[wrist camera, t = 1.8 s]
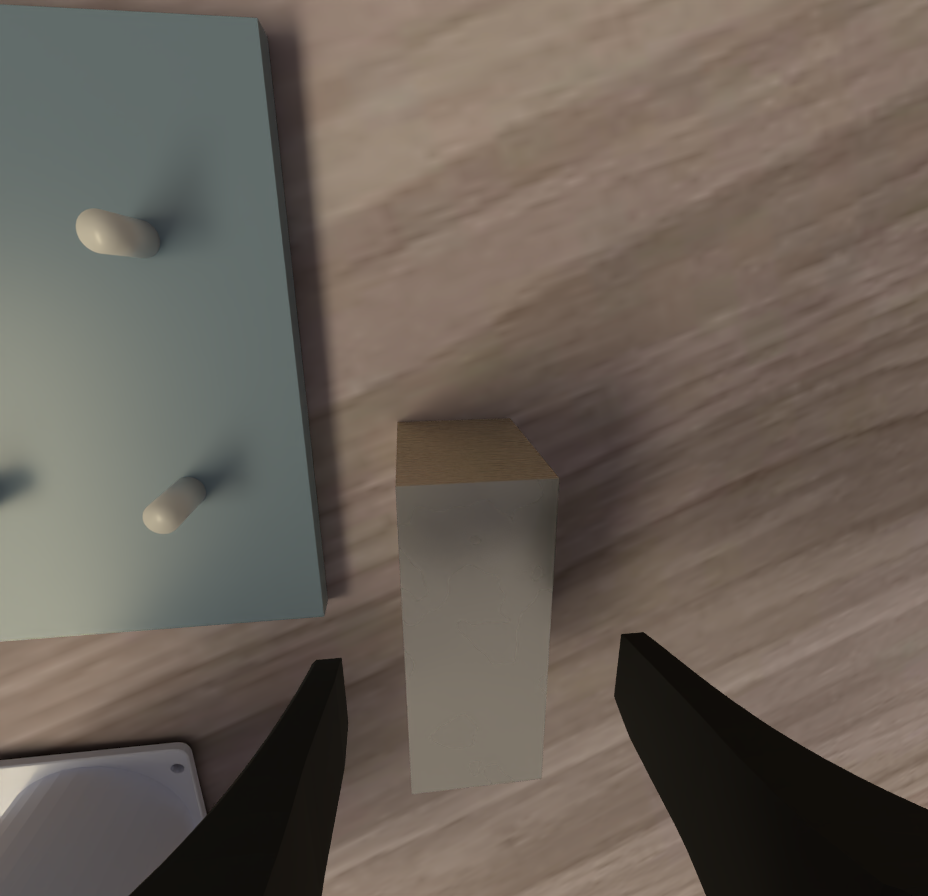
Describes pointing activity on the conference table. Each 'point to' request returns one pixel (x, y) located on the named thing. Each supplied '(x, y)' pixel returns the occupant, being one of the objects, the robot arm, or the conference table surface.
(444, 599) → the beige rectangular block
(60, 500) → the tray
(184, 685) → the conference table surface
